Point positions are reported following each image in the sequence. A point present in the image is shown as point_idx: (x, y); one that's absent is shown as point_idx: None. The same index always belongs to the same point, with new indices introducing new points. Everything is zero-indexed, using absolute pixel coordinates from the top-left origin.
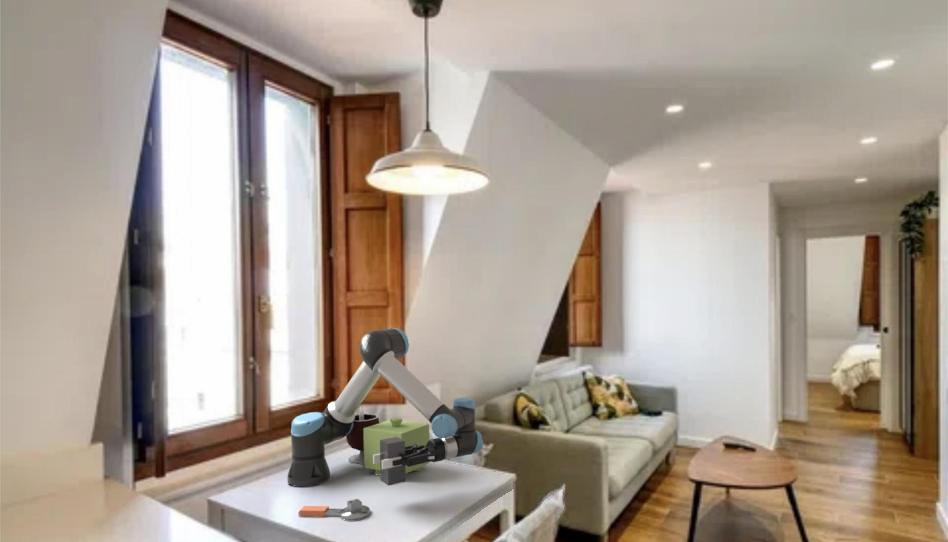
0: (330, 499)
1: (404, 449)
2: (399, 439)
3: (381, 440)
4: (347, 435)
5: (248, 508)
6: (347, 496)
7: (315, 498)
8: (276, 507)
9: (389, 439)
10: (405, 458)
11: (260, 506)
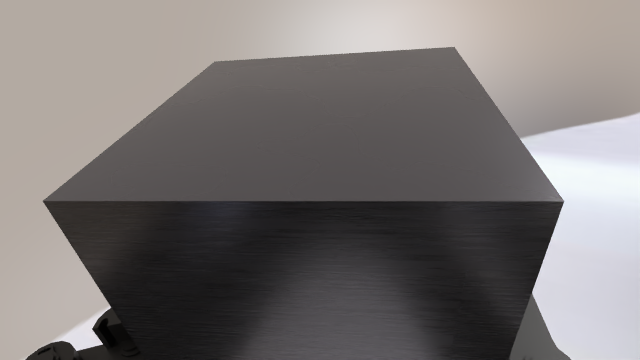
0: (587, 273)
1: (132, 320)
2: (242, 166)
3: (408, 50)
4: None
5: (575, 131)
6: (612, 338)
7: (619, 240)
8: (559, 162)
9: (391, 89)
10: (112, 356)
11: (583, 145)
